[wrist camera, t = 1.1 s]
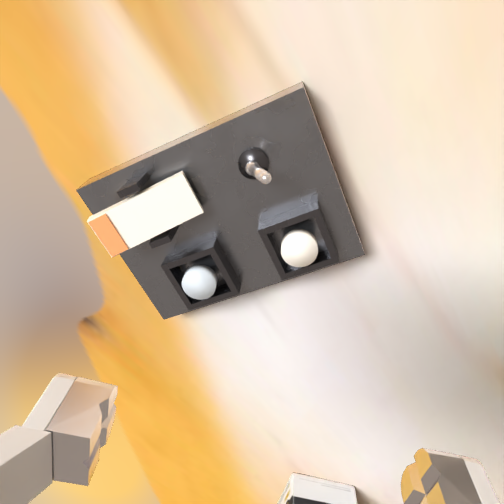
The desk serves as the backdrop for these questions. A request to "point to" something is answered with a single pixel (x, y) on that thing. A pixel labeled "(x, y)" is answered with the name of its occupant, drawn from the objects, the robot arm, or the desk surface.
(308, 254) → the button
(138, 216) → the rocker
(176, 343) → the desk surface
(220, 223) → the panel
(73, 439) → the robot arm
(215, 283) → the button
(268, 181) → the toggle lever
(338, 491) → the tea box
